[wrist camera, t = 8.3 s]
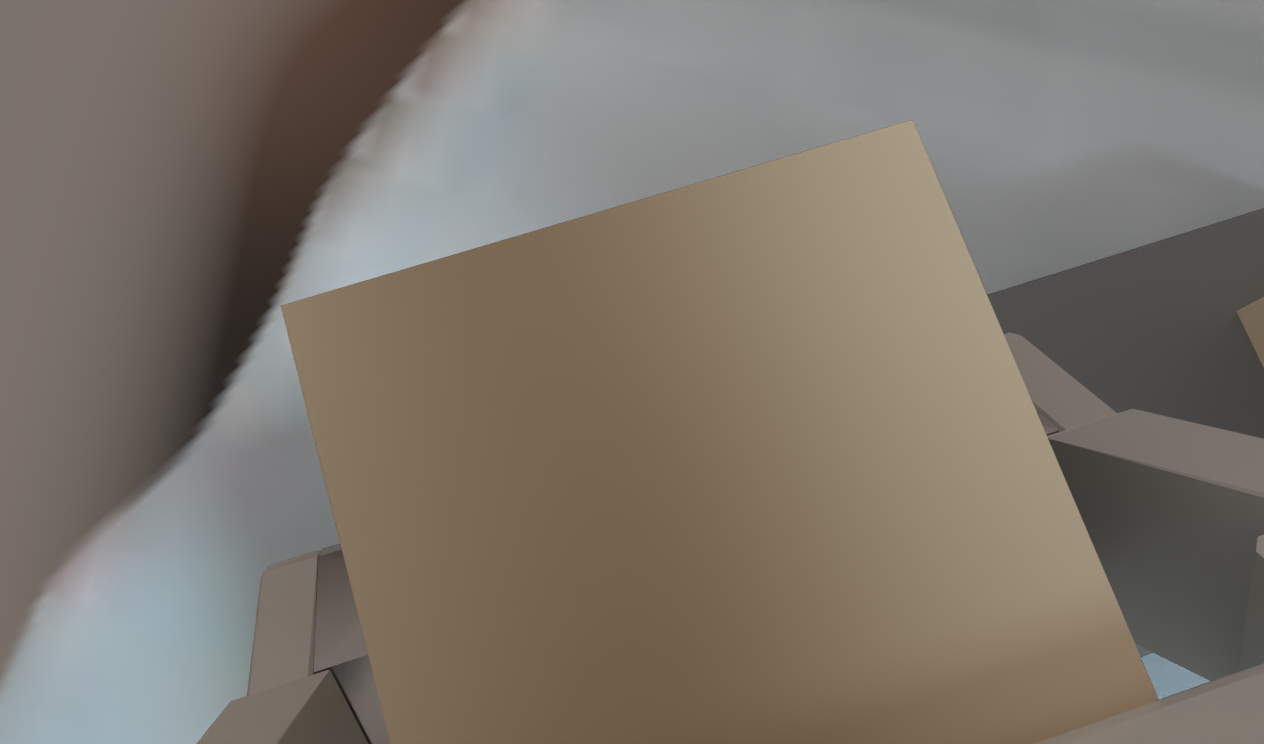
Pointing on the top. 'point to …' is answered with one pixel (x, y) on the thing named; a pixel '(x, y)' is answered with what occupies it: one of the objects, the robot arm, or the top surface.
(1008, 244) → the top surface
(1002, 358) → the block
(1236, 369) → the grey block holder
